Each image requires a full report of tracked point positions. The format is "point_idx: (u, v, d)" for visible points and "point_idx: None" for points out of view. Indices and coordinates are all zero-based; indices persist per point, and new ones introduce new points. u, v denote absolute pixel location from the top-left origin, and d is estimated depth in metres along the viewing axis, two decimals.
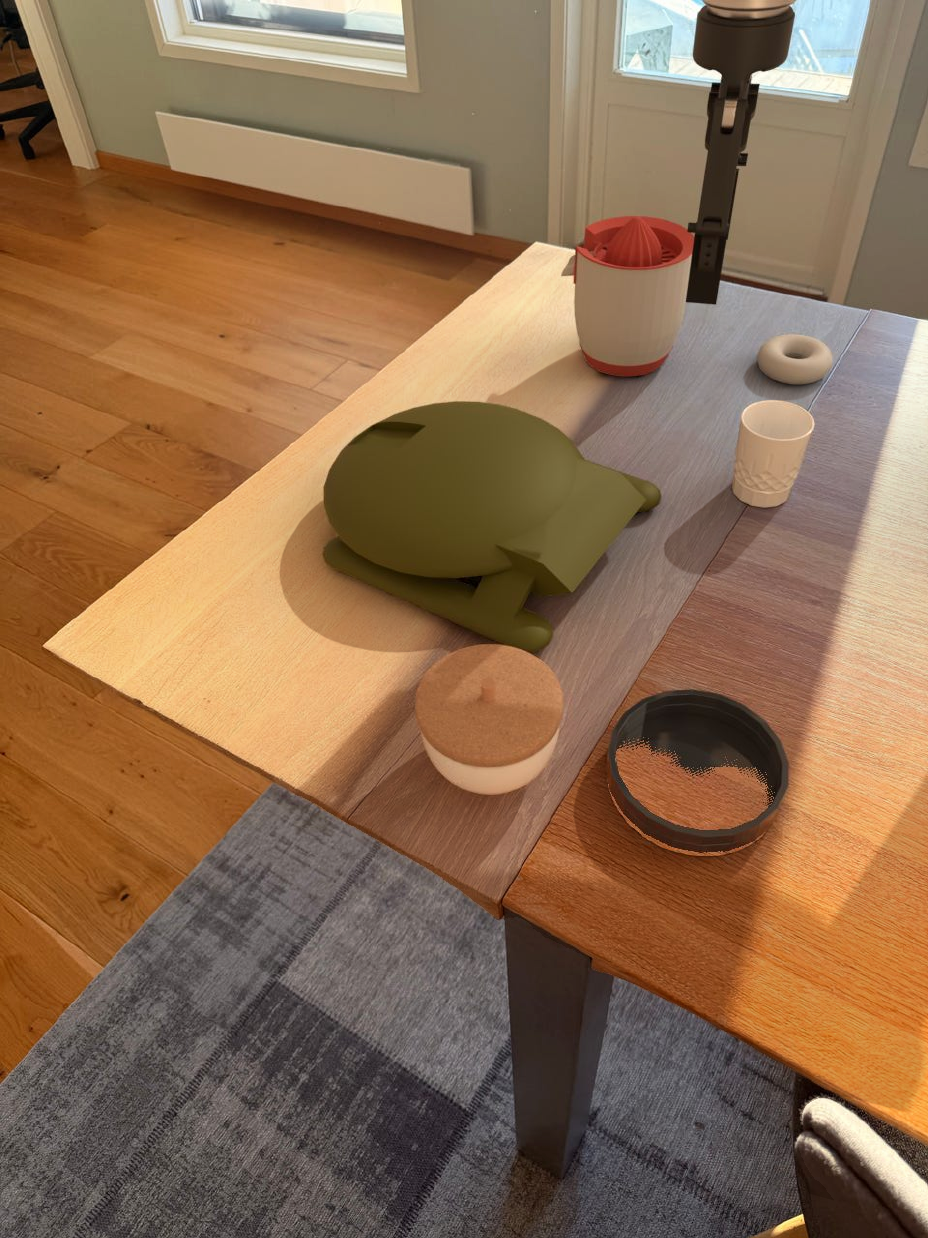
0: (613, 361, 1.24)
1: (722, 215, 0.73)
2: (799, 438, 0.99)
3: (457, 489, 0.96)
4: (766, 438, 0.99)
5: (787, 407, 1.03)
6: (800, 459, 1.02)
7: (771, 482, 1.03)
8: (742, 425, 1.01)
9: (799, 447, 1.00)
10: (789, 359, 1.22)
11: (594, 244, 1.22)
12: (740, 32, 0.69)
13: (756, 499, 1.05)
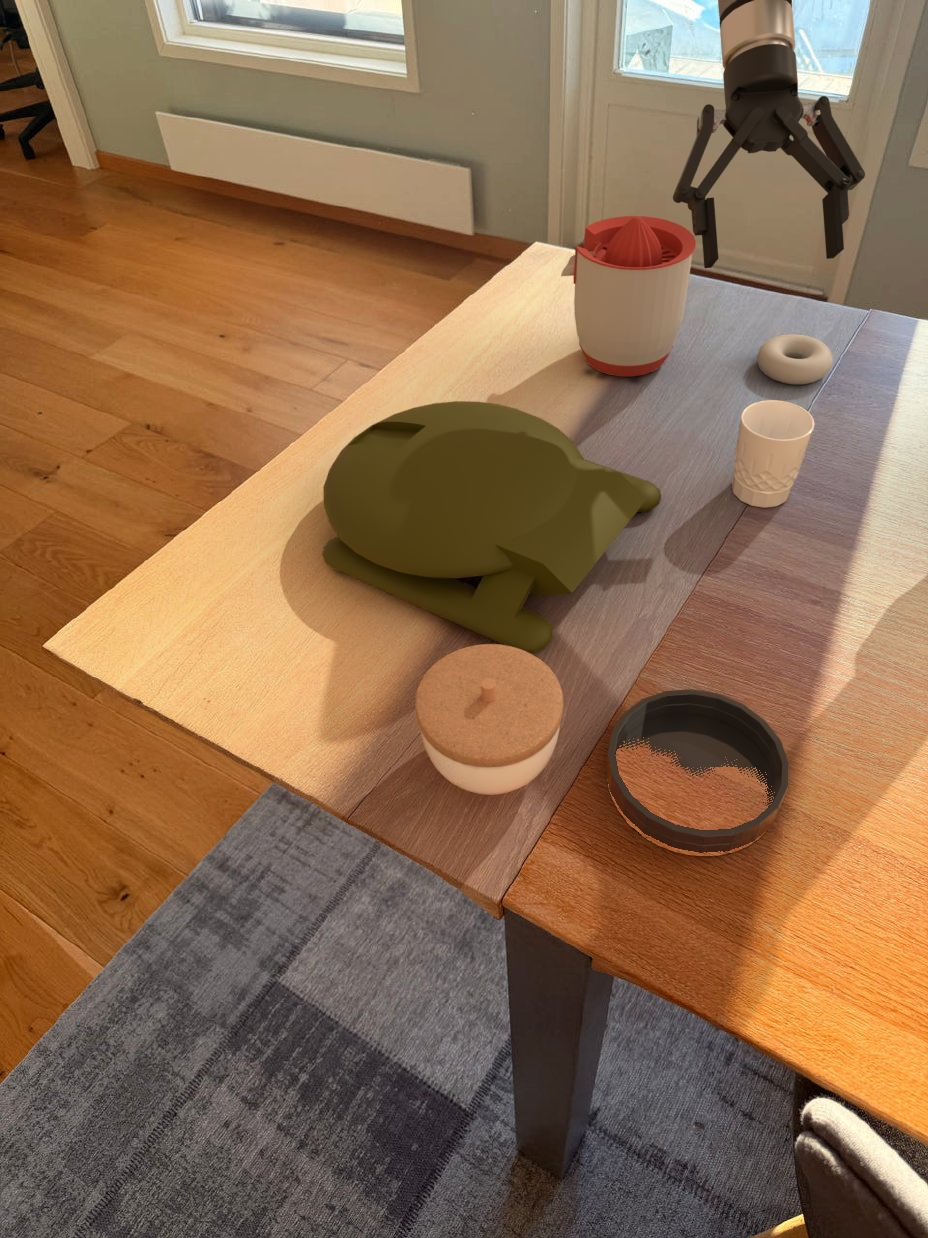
0: (613, 361, 1.24)
1: (680, 179, 0.97)
2: (799, 438, 0.99)
3: (457, 489, 0.96)
4: (766, 438, 0.99)
5: (787, 407, 1.03)
6: (800, 459, 1.02)
7: (771, 482, 1.03)
8: (742, 425, 1.01)
9: (799, 447, 1.00)
10: (789, 359, 1.22)
11: (594, 244, 1.22)
12: (724, 72, 0.98)
13: (756, 499, 1.05)
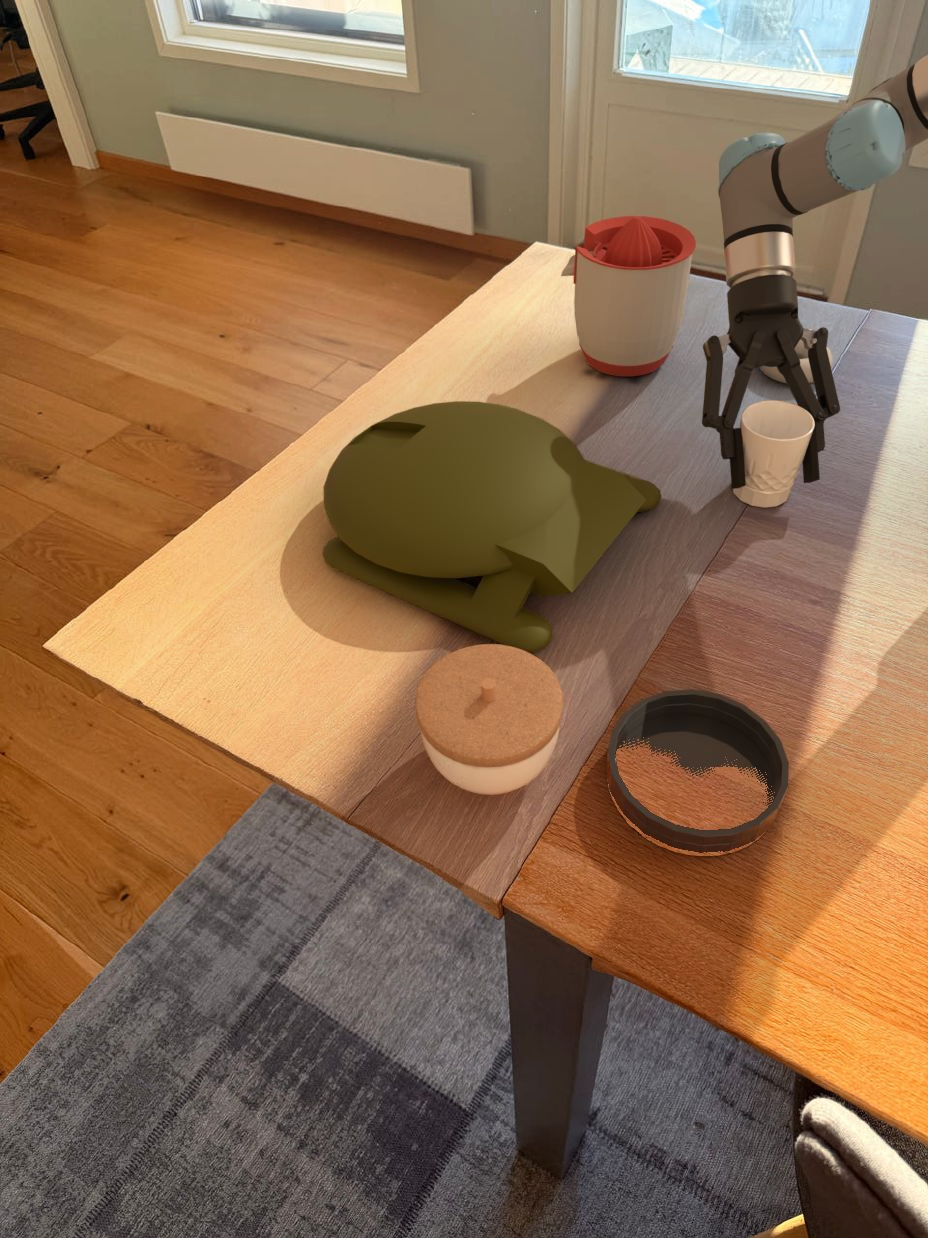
0: (613, 361, 1.24)
1: (707, 410, 1.02)
2: (799, 438, 0.99)
3: (457, 489, 0.96)
4: (766, 438, 0.99)
5: (787, 407, 1.03)
6: (800, 459, 1.02)
7: (771, 482, 1.03)
8: (742, 425, 1.01)
9: (799, 447, 1.00)
10: None
11: (594, 244, 1.22)
12: (728, 294, 1.03)
13: (756, 499, 1.05)
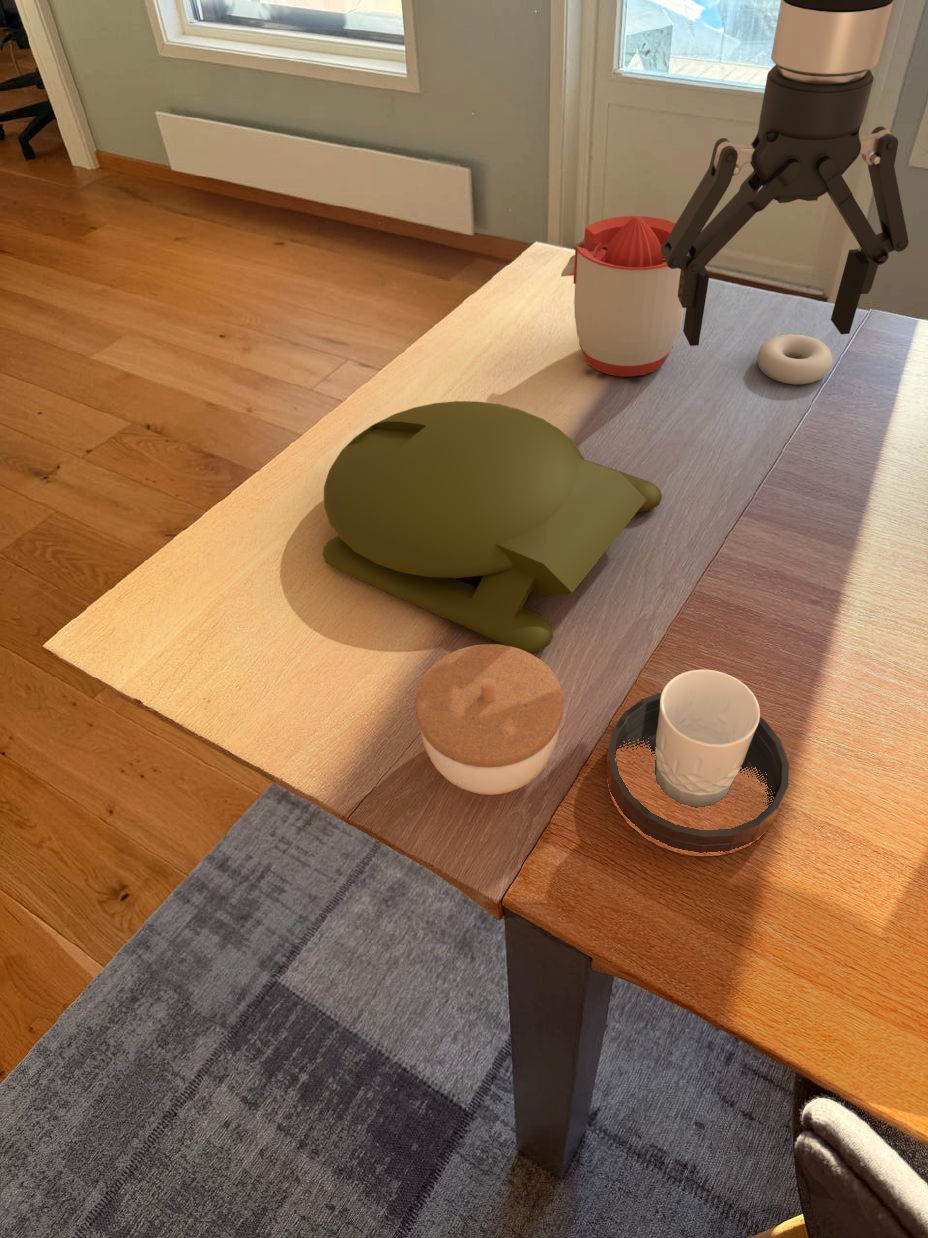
0: (613, 361, 1.24)
1: (672, 246, 0.75)
2: (737, 743, 0.71)
3: (457, 489, 0.96)
4: (692, 741, 0.71)
5: (725, 680, 0.76)
6: (741, 759, 0.74)
7: (703, 785, 0.75)
8: (661, 713, 0.73)
9: (738, 750, 0.72)
10: (789, 359, 1.22)
11: (594, 244, 1.22)
12: (768, 84, 0.67)
13: (684, 798, 0.78)
